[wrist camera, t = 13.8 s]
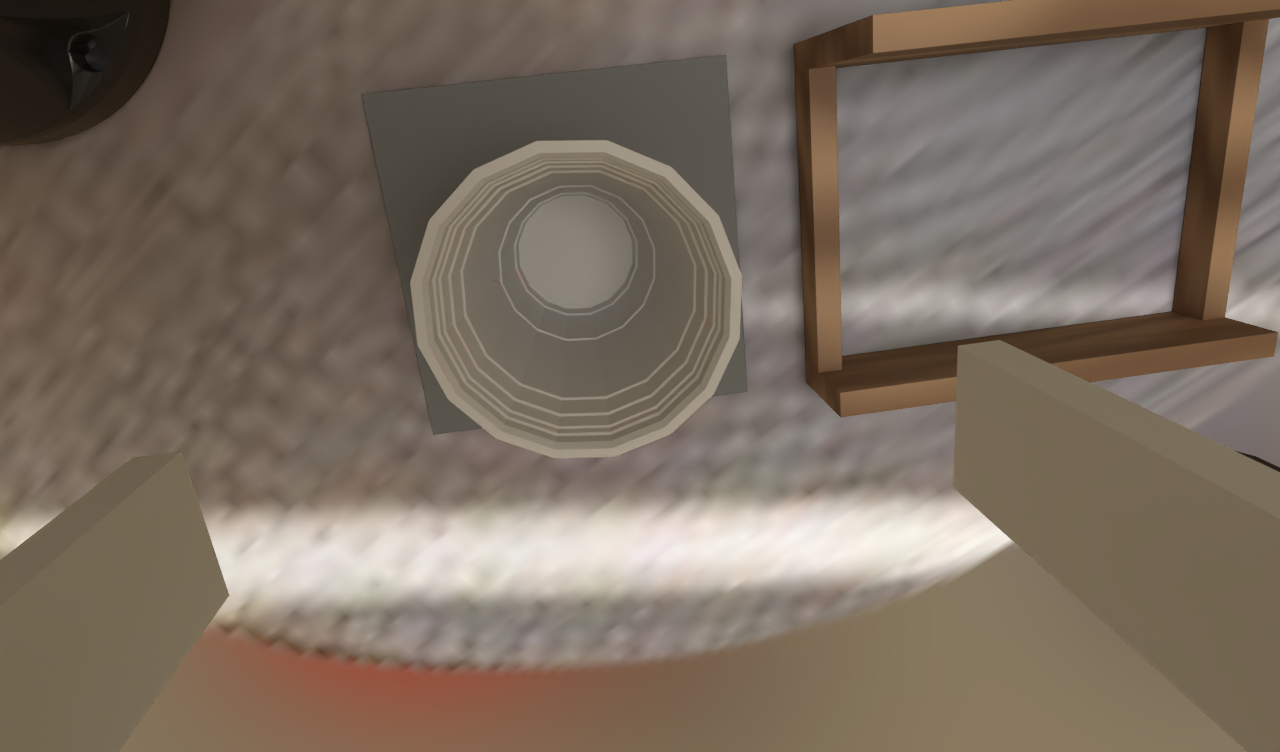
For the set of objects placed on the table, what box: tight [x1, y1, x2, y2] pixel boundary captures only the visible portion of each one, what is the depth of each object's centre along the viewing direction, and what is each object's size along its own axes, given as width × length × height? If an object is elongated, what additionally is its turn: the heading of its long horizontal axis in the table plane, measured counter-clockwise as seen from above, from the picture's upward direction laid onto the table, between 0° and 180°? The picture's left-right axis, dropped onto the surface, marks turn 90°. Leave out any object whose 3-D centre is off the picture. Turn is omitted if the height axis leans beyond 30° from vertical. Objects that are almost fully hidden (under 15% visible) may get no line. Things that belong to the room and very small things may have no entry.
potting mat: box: [362, 55, 748, 435], centre depth 36 cm, size 16×16×1 cm
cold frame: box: [794, 0, 1280, 417], centre depth 33 cm, size 16×21×9 cm
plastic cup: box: [410, 140, 742, 458], centre depth 30 cm, size 11×11×12 cm
